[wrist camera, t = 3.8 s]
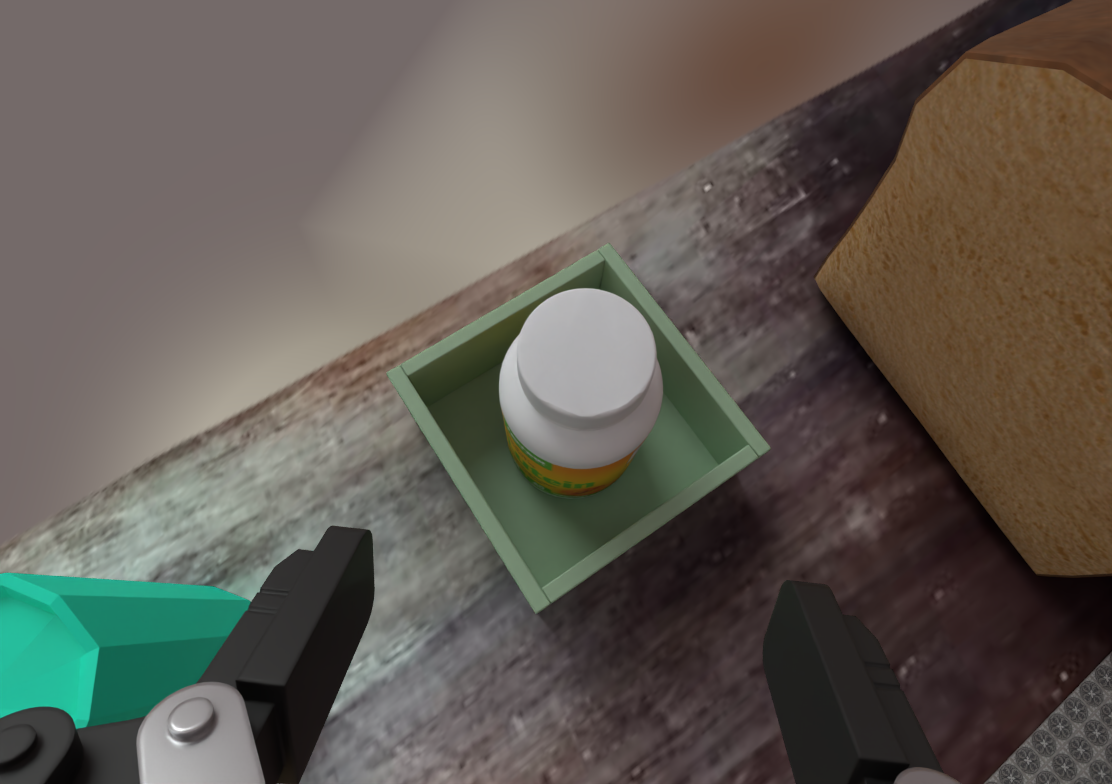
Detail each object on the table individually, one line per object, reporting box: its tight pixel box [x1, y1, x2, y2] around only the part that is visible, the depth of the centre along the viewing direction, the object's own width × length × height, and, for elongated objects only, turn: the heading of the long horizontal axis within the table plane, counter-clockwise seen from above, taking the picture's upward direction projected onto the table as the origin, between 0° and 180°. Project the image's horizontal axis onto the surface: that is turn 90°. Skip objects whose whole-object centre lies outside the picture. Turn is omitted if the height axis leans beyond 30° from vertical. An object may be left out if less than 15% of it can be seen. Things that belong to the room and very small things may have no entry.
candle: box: [0, 573, 251, 729], centre depth 19 cm, size 6×6×12 cm
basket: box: [387, 243, 771, 614], centre depth 25 cm, size 10×10×4 cm
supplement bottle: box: [499, 288, 663, 499], centre depth 22 cm, size 5×5×10 cm
